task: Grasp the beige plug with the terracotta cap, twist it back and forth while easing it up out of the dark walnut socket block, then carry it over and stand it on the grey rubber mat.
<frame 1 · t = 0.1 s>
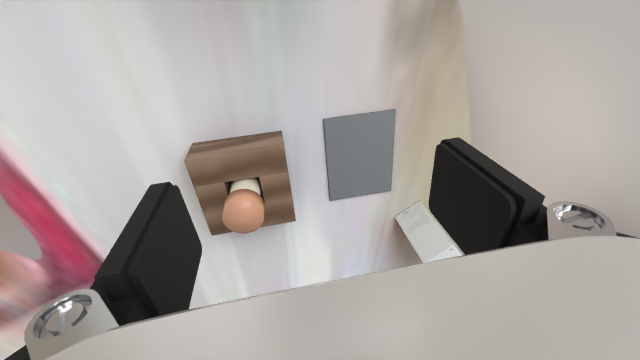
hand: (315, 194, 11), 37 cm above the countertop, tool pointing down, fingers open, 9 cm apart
small box: (414, 218, 63), on the countertop
mat: (359, 157, 53), on the countertop
plug: (246, 177, 50), point 1 cm above the countertop, touching socket block
socket block: (246, 174, 51), on the countertop
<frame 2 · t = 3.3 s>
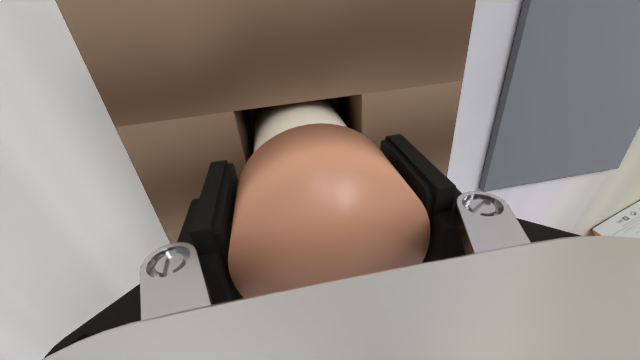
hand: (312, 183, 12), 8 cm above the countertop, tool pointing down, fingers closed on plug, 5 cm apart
small box: (622, 231, 31), on the countertop
mat: (583, 76, 20), on the countertop
plug: (295, 121, 17), point 1 cm above the countertop, touching gripper, socket block
socket block: (293, 116, 18), on the countertop
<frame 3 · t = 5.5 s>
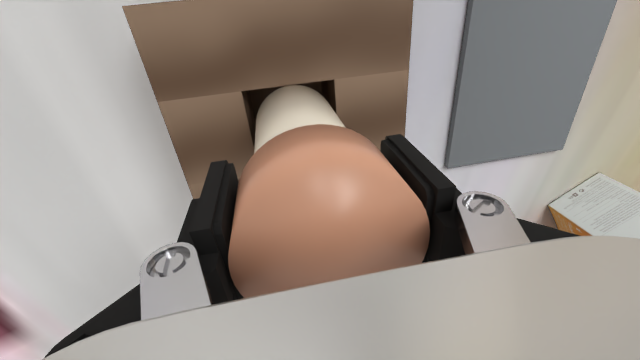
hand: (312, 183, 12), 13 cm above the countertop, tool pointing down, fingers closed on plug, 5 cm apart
small box: (576, 208, 35), on the countertop
mat: (523, 70, 25), on the countertop
plug: (295, 124, 18), point 6 cm above the countertop, touching gripper
socket block: (287, 102, 23), on the countertop
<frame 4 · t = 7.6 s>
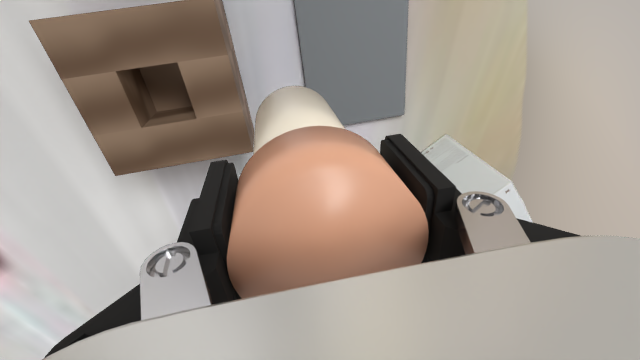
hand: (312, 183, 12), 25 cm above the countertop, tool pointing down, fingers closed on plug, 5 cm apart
small box: (438, 164, 44), on the countertop
mat: (354, 54, 34), on the countertop
plug: (295, 125, 18), point 18 cm above the countertop, touching gripper
socket block: (174, 81, 32), on the countertop
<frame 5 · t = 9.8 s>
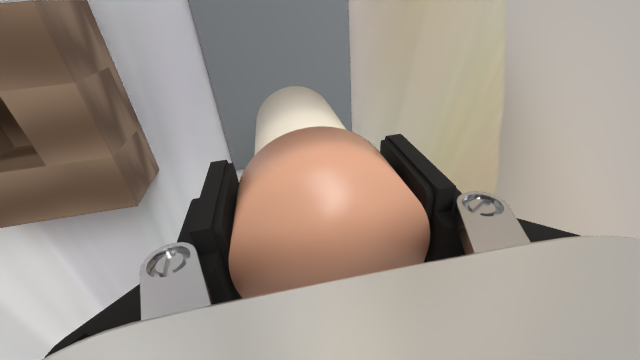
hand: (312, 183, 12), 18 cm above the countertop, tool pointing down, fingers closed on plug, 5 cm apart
mat: (282, 78, 26), on the countertop
plug: (295, 125, 18), point 11 cm above the countertop, touching gripper
socket block: (38, 108, 24), on the countertop
when the fingers open (9 cm above the countertop, at t = 11.7 s): plug drops 1 cm, resting on mat.
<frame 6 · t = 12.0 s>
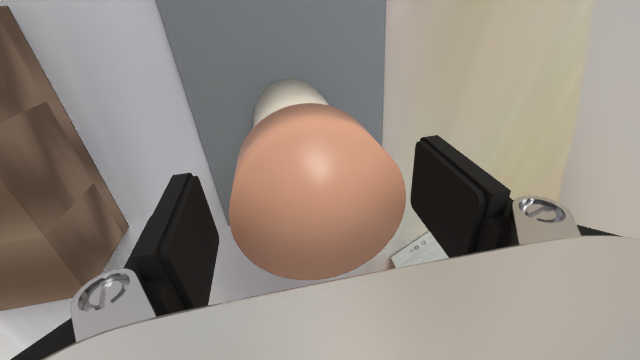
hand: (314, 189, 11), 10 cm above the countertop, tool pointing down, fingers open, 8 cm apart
small box: (433, 258, 30), on the countertop
mat: (291, 110, 19), on the countertop
plug: (291, 116, 19), point 1 cm above the countertop, touching mat
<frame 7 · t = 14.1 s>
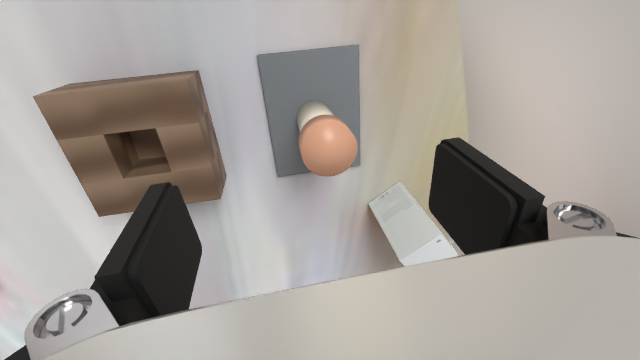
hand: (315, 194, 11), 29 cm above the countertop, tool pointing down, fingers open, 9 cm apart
small box: (394, 206, 49), on the countertop
mat: (314, 115, 39), on the countertop
plug: (314, 118, 39), point 1 cm above the countertop, touching mat
socket block: (156, 134, 37), on the countertop
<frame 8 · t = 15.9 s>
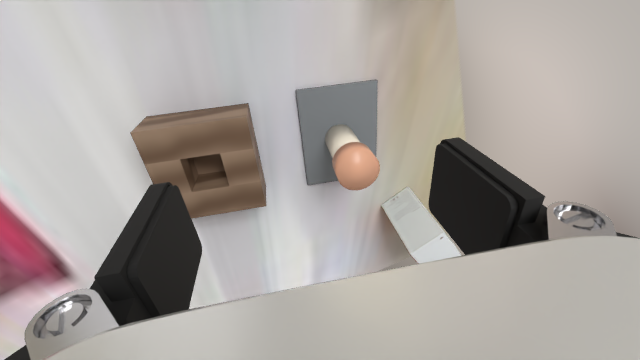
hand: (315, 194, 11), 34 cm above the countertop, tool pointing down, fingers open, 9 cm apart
small box: (403, 207, 58), on the countertop
mat: (339, 135, 47), on the countertop
plug: (339, 138, 47), point 1 cm above the countertop, touching mat
socket block: (211, 154, 46), on the countertop
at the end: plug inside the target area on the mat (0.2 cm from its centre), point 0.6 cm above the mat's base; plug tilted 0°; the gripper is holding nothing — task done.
